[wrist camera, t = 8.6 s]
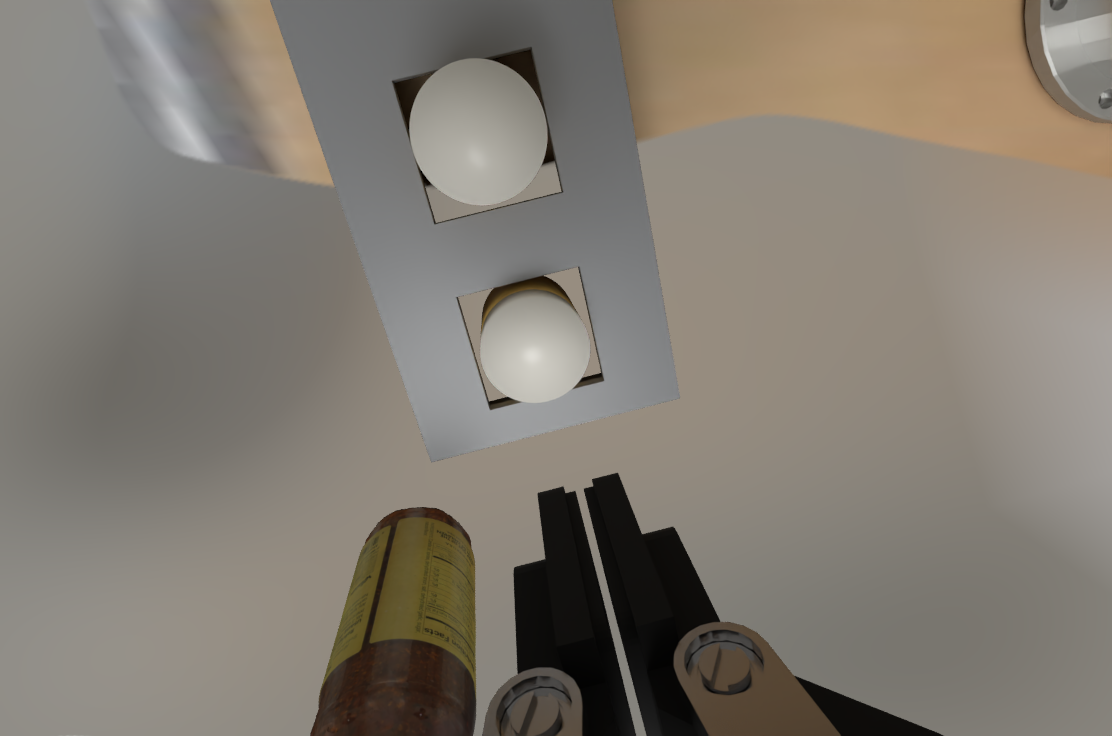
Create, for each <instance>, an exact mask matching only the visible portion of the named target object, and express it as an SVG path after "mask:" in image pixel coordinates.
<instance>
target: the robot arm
mask: <svg viewBox="0 0 1112 736" xmlns="http://www.w3.org/2000/svg"><path fill="white" fill-rule="evenodd" d="M1025 27H1026V39H1027V46H1028V49H1029V53H1030V57H1031V60H1032V64H1033V68H1034V70H1035V72H1036V73H1037V75H1038V77H1039V79H1040V81H1041V83H1042V85H1043V87H1044V89H1045V90H1046V91H1047V92H1048V93H1049V94H1050V95H1051V96H1052V98H1053V99H1054V100H1055V101H1056V102H1057V103H1058V104H1059V105H1060V106H1062V107H1063V108H1065V109H1066V110H1068V111H1069V112H1071V113H1072V114H1074V115H1075V116H1078V117H1081V118H1084V119H1087V120H1090V121H1093V122H1098V123H1111V124H1112V0H1026V5H1025ZM592 482H593V487H589V488H585V489H584V492H585V496H586V500H587V505H588V508H589V512H590V517H591V521H592V524H593V529H594V533H595V536H596V540H597V545H598V549H599V553H600V557H601V560H602V565H603V568H604V573H605V577H606V580H607V585H608V589H609V593H610V597H611V601H612V605H613V609H614V612H615V616H616V620H617V624H618V627H619V632H620V635H621V639H622V643H623V647H624V651H625V655H626V658H627V662H628V666H629V670H630V673H631V677H632V681H633V685H634V689H635V693H636V697H637V700H638V704H639V708H640V712H641V715H642V720H643V723H644V727H645V731H646V735H647V736H943V735H941V734H939V733H937V732H934V731H932V730H929V729H927V728H924V727H922V726H919V725H917V724H914V723H912V722H909V721H907V720H904V719H901V718H899V717H896V716H894V715H891V714H889V713H887V712H884V711H881V710H879V709H877V708H873V707H871V706H869V705H866V704H864V703H861V702H859V701H856V700H854V699H851V698H849V697H846V696H844V695H841V694H839V693H836V692H834V691H831V690H829V689H826V688H824V687H821V686H819V685H816V684H814V683H811V682H809V681H806V680H803V679H801V678H799V677H796V676H794V675H793V674H792V673H791V672H790V670H789V669H788V668H787V666H786V665H785V664H784V663H783V662H782V660H781V659H780V658H779V656H778V655H777V654H776V653H775V651H774V650H773V649H772V647H770V645H769V644H768V642H766V641H765V640H764V639H763V638H762V637H761V636H760V635H759V634H758V633H757V632H755V631H753V630H751V629H749V628H747V627H745V626H743V625H739V624H735V623H731V622H720V620H719V618H718V616H717V614H716V612H715V610H714V608H713V605H712V603H711V601H710V599H709V597H708V595H707V593H706V591H705V589H704V587H703V585H702V583H701V581H700V579H699V577H698V574H697V573H696V570H695V568H694V567H693V564H692V562H691V560H690V558H689V556H688V554H687V552H686V550H685V548H684V546H683V544H682V542H681V540H680V537H679V535H678V534H677V532H676V530H675V528H674V527H670V528H666V529H662V530H658V531H654V532H650V533H646V534H642V533H641V531H640V528H639V526H638V523H637V521H636V518H635V515H634V513H633V510H632V508H631V505H630V502H629V500H628V498H627V495H626V493H625V490H624V487H623V485H622V482H621V480H620V477H619V475H618V473H615V474H611V475H607V476H603V477H599V478H595V479H592ZM538 502H539V509H540V518H541V526H542V534H543V542H544V550H545V559H544V560H541V561H537V562H533V563H529V564H525V565H521V566H517V567H515V568H514V597H515V621H516V646H517V670H518V675H516V676H514V677H512V678H510V679H509V680H508V681H507V682H506V683H505V684H504V685H503V686H502V687H500V689H498V691H497V692H496V694H495V695H494V697H493V698H492V700H491V702H490V705H489V707H488V711H487V713H486V717H485V723H484V728H483V734H482V736H636V733H635V729H634V725H633V721H632V717H631V712H630V708H629V704H628V701H627V696H626V692H625V688H624V684H623V679H622V676H621V671H620V667H619V663H618V659H617V655H616V651H615V647H614V642H613V638H612V634H611V630H610V626H609V622H608V618H607V614H606V609H605V606H604V601H603V597H602V593H601V590H600V586H599V582H598V578H597V574H596V570H595V566H594V562H593V558H592V554H591V550H590V547H589V543H588V539H587V535H586V531H585V527H584V523H583V519H582V516H581V511H580V507H579V503H578V500H577V495H576V492H575V491H574V492H569V493H565V490H564V487H560V488H556V489H552V490H548V491H544V492H540V493H538Z"/></svg>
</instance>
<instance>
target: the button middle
mask: <svg viewBox="0 0 1112 736" xmlns="http://www.w3.org/2000/svg"><path fill="white" fill-rule="evenodd" d="M409 132H410V142H411V146H412V150H413V153H414V156H415V159H416V161H417V163H418V165H419V167H420V169H421V171H422V172H423V174H424V175H425V177H426V178H427V179H428V180H429V181H430V182H431V184H432V185H434V186H435V187H436V188H437V189H438V190H439V191H441V192H442V193H444V194H445V195H446V196H448V197H450V198H452V199H454V200H456V201H459V202H462V203H466V204H470V205H478V206H485V205H493V204H498V203H501V202H504V201H507V200H509V199H511V198H513V197H515V196H516V195H518V194H519V193H521V192H522V191H523V190H524V189H525V188H526V187H527V186H528V185H529V184H530V183H531V181H532V180H533V179H534V177H535V176H536V174H537V173H538V171H539V169H540V167H541V165H542V163H543V160H544V157H545V153H546V148H547V138H548V137H547V124H546V118H545V114H544V111H543V108H542V105H541V103H540V101H539V99H538V97H537V95H536V94H535V92H534V90H533V89H532V88H531V86H530V85H529V84H528V83H527V82H526V81H525V80H524V79H523V78H522V77H521V76H520V75H519V74H518V73H516V72H515V71H514V70H512V69H510V68H509V67H507V66H505V65H503V64H501V63H498V62H495V61H492V60H488V59H480V58H469V59H463V60H459V61H456V62H452V63H450V64H448V65H446V66H444V67H442V68H441V69H439V70H438V71H436V72H435V73H434V74H433V75H432V76H431V77H430V78H429V79H428V80H427V81H426V82H425V83H424V85H423V86H422V88H421V89H420V91H419V93H418V94H417V96H416V99H415V101H414V104H413V107H412V111H411V116H410V129H409Z"/></svg>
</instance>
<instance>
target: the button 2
mask: <svg viewBox="0 0 1112 736" xmlns="http://www.w3.org/2000/svg"><path fill="white" fill-rule="evenodd" d="M480 359H481V364H482V367H483V370H484V372H485V374H486V376H487V378H488V379H489V381H490V382H491V383H492V384H493V386H494V387H495V388H496V389H497V390H499V391H500V392H501V393H503V394H504V395H506V396H507V397H510V398H512V399H514V400H517V401H521V402H526V403H542V402H547V401H551V400H554V399H556V398H559V397H561V396H563V395H564V394H566V393H567V392H569V391H570V390H571V389H572V388H574V386H575V385H576V384H577V383H578V382H579V381H580V379H581V378H582V377H583V375H584V373H585V371H586V369H587V366H588V363H589V359H590V340H589V335H588V332H587V329H586V327H585V325H584V323H583V322H582V320H581V318H580V316H579V315H578V313H577V311H576V309H575V308H574V306H573V304H572V302H571V301H570V299H569V297H568V296H567V294H566V292H565V291H564V290H563V289H562V288H561V287H560V286H559V285H558V284H557V283H556V282H554V281H553V280H551V279H549V278H547V277H545V276H539V277H535V278H531V279H527V280H523V281H519V282H515V283H511V284H507V285H503V286H500V287H496V288H494V289H493V290H492V291H491V292H490V294H489V296H488V297H487V299H486V301H485V304H484V307H483V312H482V326H481V341H480Z"/></svg>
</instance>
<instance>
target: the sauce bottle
mask: <svg viewBox="0 0 1112 736" xmlns="http://www.w3.org/2000/svg"><path fill="white" fill-rule="evenodd" d="M475 620H476V619H475V560H474V555H473V552H472V549H471V540H470V537H469V535H468V534H467V532H466V531H465V530H464V529H463V527H462V526H461V525H460V524H459V523H458V522H457V521H456V520H455V519H453V518H452V517H451V516H450V515H447V514H446V513H445V512H444V511H442V510H439V509H437V508H426V507H420V508H419V507H417V508H408V509H401V510H397V511H395V512H393V513H391V514H389V515H387V516H386V517H384V518H383V519H382V520H381V521H380V522H378V524H377V525H376V527H375V528H374V530H373V531H372V532H371V533H370V535H369V537H368V538H367V539H366V542H365V545H364V546H363V549H362V550H361V553H360V556H359V559H358V562H357V566H356V570H355V573H354V576H353V580H352V583H351V586H350V590H349V593H348V597H347V600H346V604H345V608H344V611H343V615H342V619H341V622H340V626H339V629H338V632H337V636H336V639H335V643H334V646H333V649H332V653H331V656H330V660H329V663H328V667H327V670H326V674H325V677H324V681H323V684H322V688H321V690H320V696H319V710H318V713H317V715H316V719H315V723H314V726H313V728H312V731H311V735H310V736H473V733H474V727H475V720H476V666H475V665H476V663H475V662H476V660H475V645H476V644H475V643H476V631H475V630H476V627H475V626H476V621H475Z"/></svg>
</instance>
